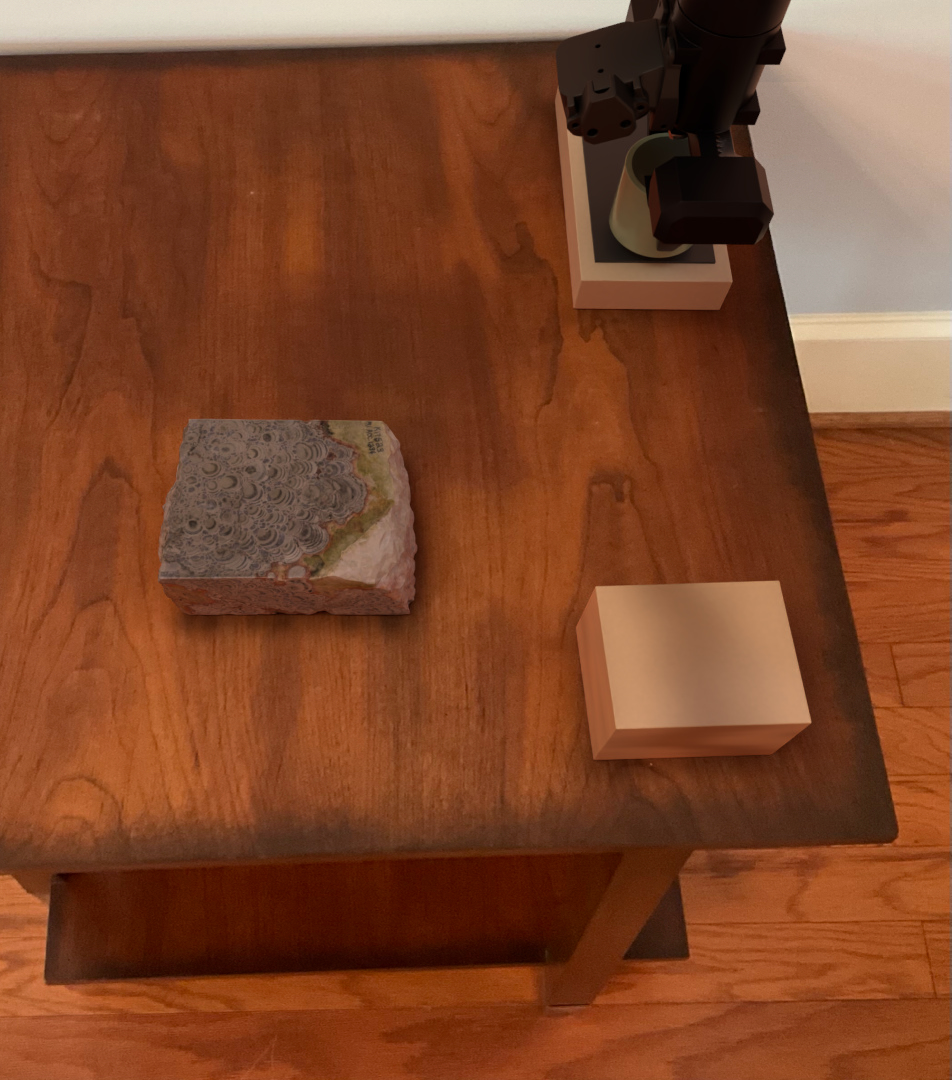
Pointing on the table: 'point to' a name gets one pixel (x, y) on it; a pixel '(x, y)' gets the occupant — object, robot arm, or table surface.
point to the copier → (602, 261)
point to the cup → (642, 194)
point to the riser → (689, 670)
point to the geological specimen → (288, 519)
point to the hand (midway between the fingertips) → (659, 212)
